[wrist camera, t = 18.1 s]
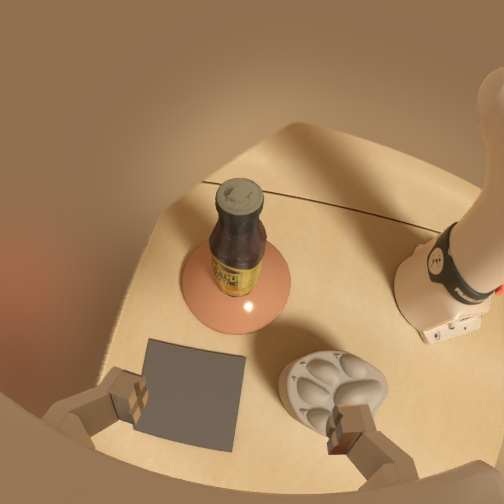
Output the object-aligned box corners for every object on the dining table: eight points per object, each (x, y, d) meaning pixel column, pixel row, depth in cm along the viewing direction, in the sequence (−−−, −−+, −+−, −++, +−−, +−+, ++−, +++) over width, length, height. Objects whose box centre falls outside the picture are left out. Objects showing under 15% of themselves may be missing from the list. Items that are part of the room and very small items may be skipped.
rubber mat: (245, 357, 36) (245, 357, 36) (231, 451, 30) (231, 452, 29) (149, 339, 37) (149, 339, 36) (134, 429, 30) (133, 429, 30)
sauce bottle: (207, 275, 40) (183, 184, 23) (241, 252, 42) (242, 154, 25) (233, 310, 38) (226, 237, 21) (268, 285, 40) (289, 199, 22)
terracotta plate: (293, 243, 45) (294, 239, 44) (284, 341, 37) (285, 340, 36) (196, 230, 45) (195, 226, 44) (173, 324, 38) (171, 322, 37)
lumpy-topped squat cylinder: (337, 441, 31) (362, 453, 23) (261, 401, 34) (266, 405, 26) (372, 381, 35) (402, 376, 27) (301, 340, 38) (316, 327, 30)
